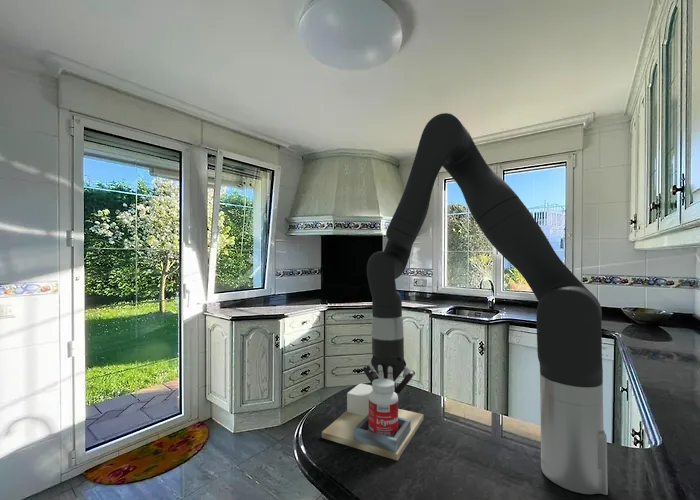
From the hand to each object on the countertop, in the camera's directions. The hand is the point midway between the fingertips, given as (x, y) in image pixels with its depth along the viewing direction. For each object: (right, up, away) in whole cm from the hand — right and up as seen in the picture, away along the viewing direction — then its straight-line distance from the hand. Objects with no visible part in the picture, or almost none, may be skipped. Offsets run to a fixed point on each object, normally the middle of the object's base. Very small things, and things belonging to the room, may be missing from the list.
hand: (389, 408), depth 79 cm
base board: (-4, -3, -4) cm, 6 cm away
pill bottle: (-2, -1, -9) cm, 10 cm away
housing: (-5, -1, +3) cm, 6 cm away
